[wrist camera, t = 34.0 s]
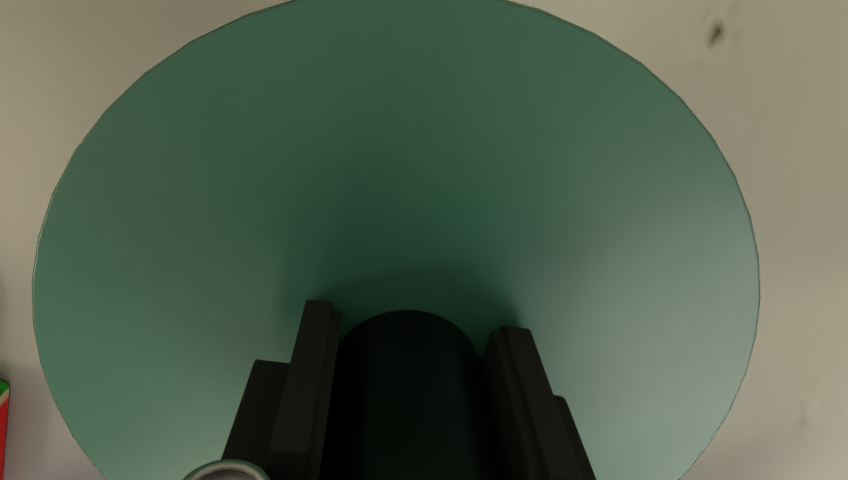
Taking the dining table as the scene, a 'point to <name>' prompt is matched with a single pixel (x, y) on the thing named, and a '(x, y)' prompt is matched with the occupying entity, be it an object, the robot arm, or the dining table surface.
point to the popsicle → (3, 420)
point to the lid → (396, 242)
